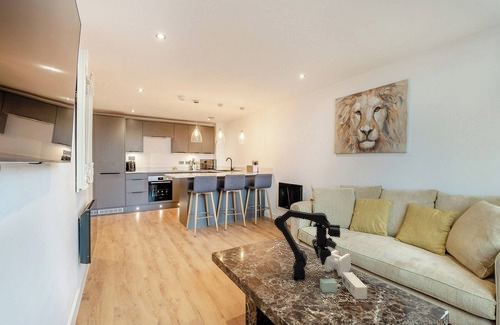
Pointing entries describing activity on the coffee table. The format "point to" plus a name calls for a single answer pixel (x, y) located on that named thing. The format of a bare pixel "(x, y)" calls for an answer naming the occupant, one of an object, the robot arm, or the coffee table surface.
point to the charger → (329, 285)
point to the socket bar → (354, 285)
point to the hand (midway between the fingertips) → (320, 261)
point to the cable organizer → (338, 262)
